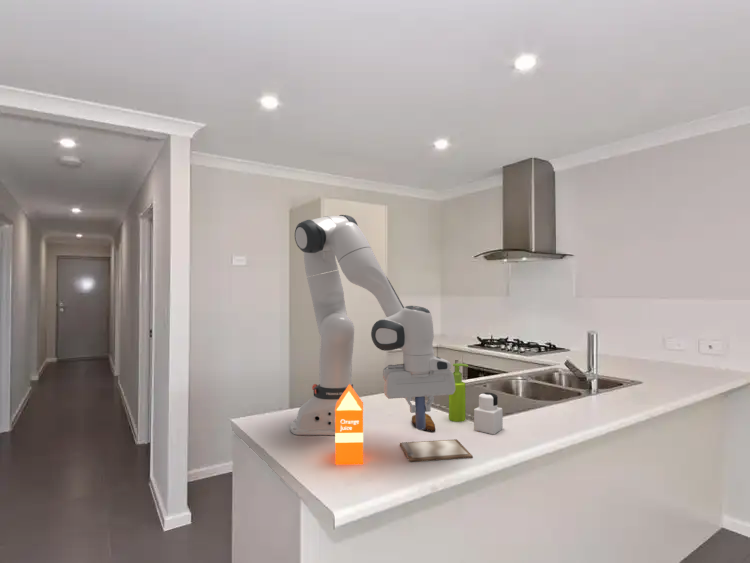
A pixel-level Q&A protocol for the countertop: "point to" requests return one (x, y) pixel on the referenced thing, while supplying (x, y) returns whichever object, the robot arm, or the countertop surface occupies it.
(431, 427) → the croissant
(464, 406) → the soap dispenser
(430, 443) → the metal serving tray
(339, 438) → the orange juice
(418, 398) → the marker
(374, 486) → the countertop surface
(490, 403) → the medicine bottle
